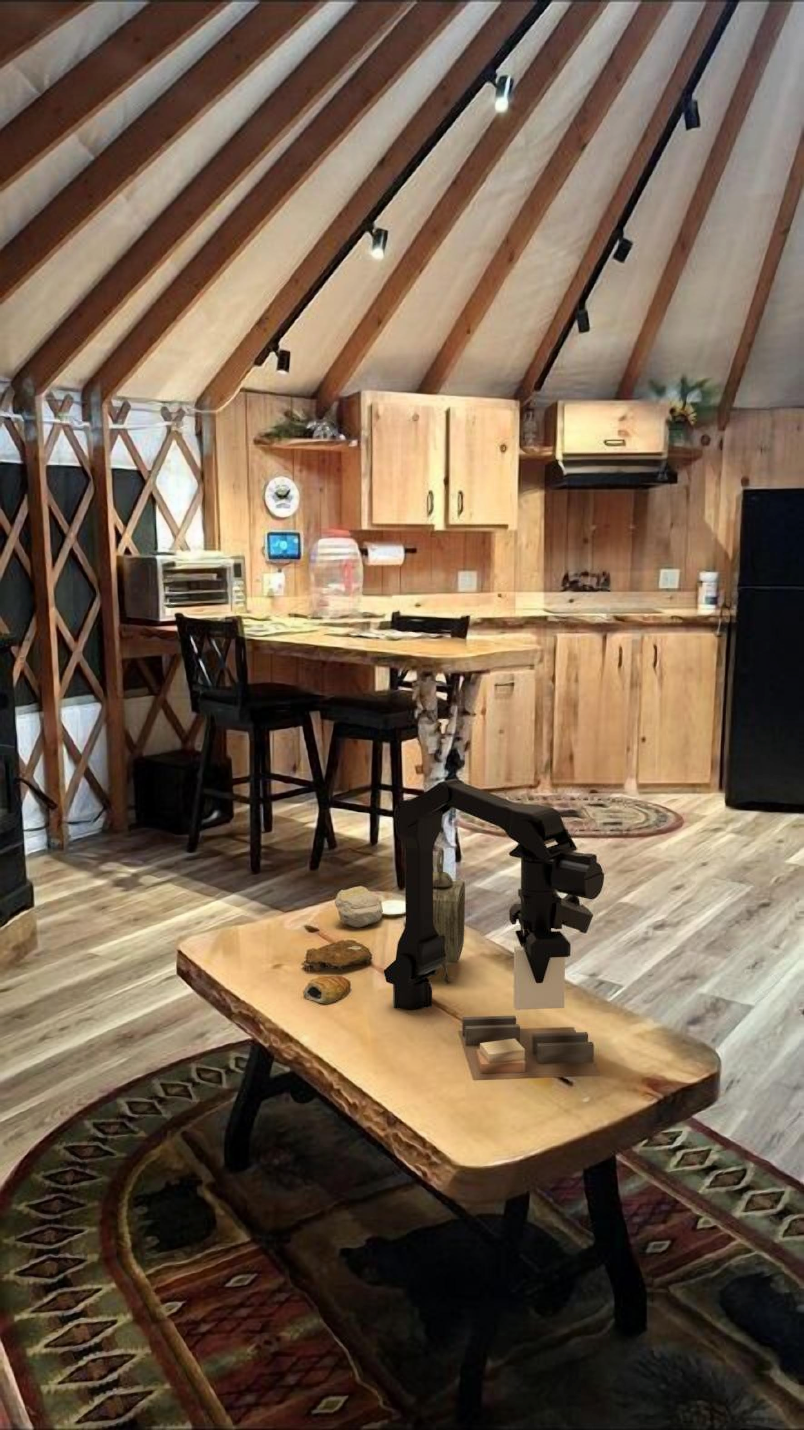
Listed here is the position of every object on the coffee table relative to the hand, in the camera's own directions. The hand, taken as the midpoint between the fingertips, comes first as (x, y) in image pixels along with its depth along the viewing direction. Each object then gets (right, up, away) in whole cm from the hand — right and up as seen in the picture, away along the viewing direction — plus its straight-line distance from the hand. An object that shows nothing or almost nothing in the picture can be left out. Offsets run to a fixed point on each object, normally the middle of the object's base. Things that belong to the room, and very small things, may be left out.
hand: (537, 980), depth 165 cm
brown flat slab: (-35, -8, +42) cm, 55 cm away
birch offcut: (-6, -11, -3) cm, 13 cm away
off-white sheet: (0, -4, +1) cm, 5 cm away
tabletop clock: (-15, -8, +38) cm, 42 cm away
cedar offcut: (-6, -13, -3) cm, 14 cm away
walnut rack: (-2, -13, +1) cm, 14 cm away
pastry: (-36, -10, +27) cm, 46 cm away
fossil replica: (-31, -4, +66) cm, 73 cm away
